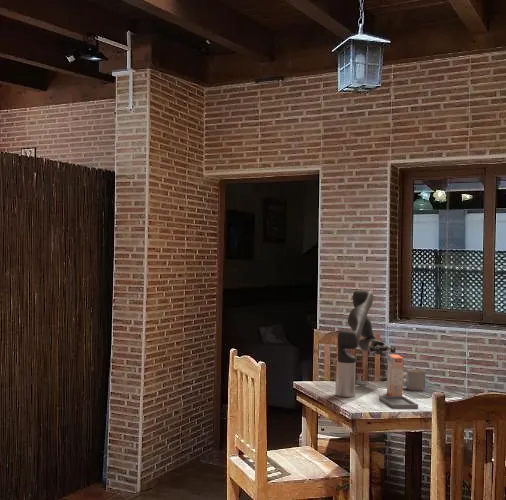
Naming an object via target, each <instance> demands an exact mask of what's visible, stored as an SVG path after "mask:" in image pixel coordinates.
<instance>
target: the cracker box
mask: <svg viewBox="0 0 506 500" xmlns="http://www.w3.org/2000/svg"><path fill="white" fill-rule="evenodd" d="M387 355H388V358H387V379H386V381H387V382H386V384H387V385H386V394H387V396H403V385H404V384H403V381H404V378H403V374H404V360H405V359H404V358H403V356H401V355H399V354H394V353H391V354H390V353H388V354H387Z"/></svg>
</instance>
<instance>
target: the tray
mask: <svg viewBox="0 0 506 500" xmlns="http://www.w3.org/2000/svg"><path fill="white" fill-rule="evenodd" d="M379 401H381V402H382V403H383V404H385V405H387V406H388V407H390V408H391V409H419V404H418V403H416V402H414V401H412V400H411V399H410V398H407V397H406V396H403V395H402V396H389V395H380V396H379Z"/></svg>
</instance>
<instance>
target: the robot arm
mask: <svg viewBox="0 0 506 500" xmlns="http://www.w3.org/2000/svg"><path fill="white" fill-rule="evenodd" d="M373 302H374V293H373V292H372V291H370V290H355V291H354V292H353V294H352V303H353V307H354V308H352V309H351V311H350V312H349V314H348V318H347V324H348V326H349V327H350V329H351V330H339V331H338V334H337V364H336V365H337V367H336V369H337V371H336V376H335V395H336V396H338V397H344V398H345V397H346V398H350V397H355V395H356V393H355V387H356V364H357V363H356V359H357V358H356V356H354V355H352V354H350V353H348V352H347V349H348V350H356V349H358V348H360V349H361V350H362V351H365V352H366V351H367V352H368V351H369V352H370V353H374V354H375V355H383V354H384V353H388V354H389V353H391V354H394V353H396V350H397V348H396V347H395V346H392V345H391V346H388V345H385V342H383V341H381V340H378V339H377V338H376V337H375V335H374V332H373V326H372V321H371V319H370V318H369V317H368V313H369V312H370V309H371V307H372V305H373ZM361 336H362V338H361Z"/></svg>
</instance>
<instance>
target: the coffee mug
mask: <svg viewBox="0 0 506 500" xmlns="http://www.w3.org/2000/svg"><path fill="white" fill-rule="evenodd" d="M426 374H427V373H426V370H424V369H415V368H413V369H411V368H409V369H406V373H404V372H403V379H404V378H405V377H406V380H403V385H405V386H406V389H407V390H410V391H425V390H426ZM424 389H425V390H424Z"/></svg>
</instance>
